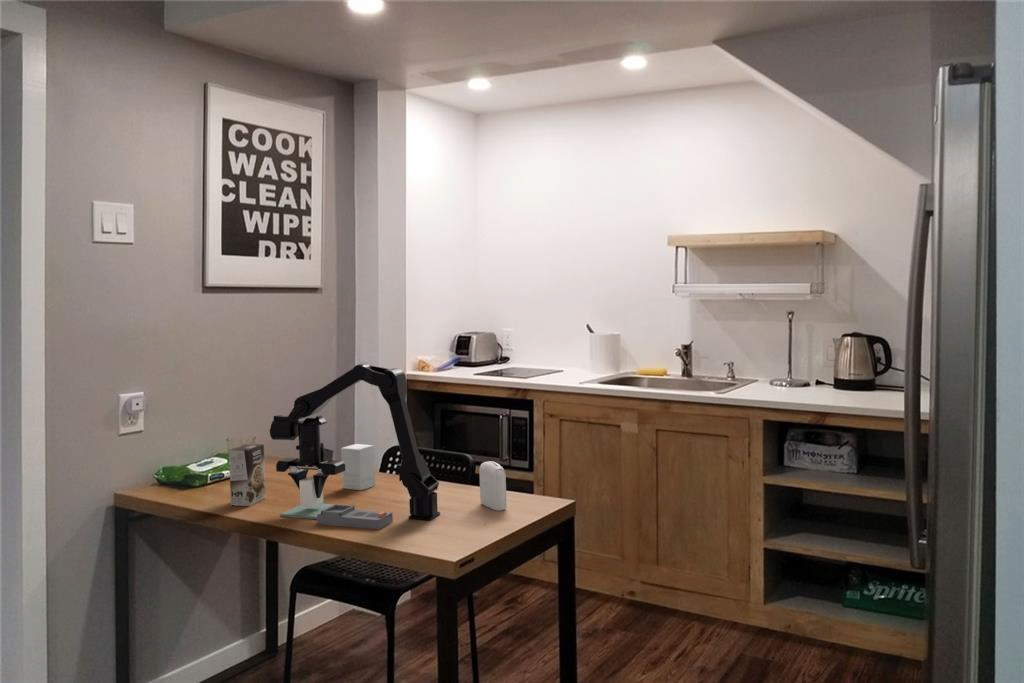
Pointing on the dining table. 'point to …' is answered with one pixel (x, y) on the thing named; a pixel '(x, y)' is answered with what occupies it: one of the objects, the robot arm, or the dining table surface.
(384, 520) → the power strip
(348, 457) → the supplement box
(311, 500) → the charger
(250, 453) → the coffee box
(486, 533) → the dining table surface
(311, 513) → the rubber mat
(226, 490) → the dining table surface
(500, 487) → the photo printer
